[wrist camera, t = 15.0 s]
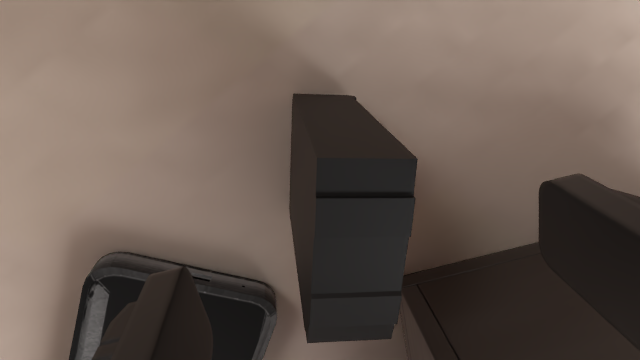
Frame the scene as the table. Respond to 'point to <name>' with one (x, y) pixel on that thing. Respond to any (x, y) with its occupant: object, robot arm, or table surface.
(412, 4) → the table surface
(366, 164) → the ink cartridge
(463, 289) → the pen box
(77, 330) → the phone
